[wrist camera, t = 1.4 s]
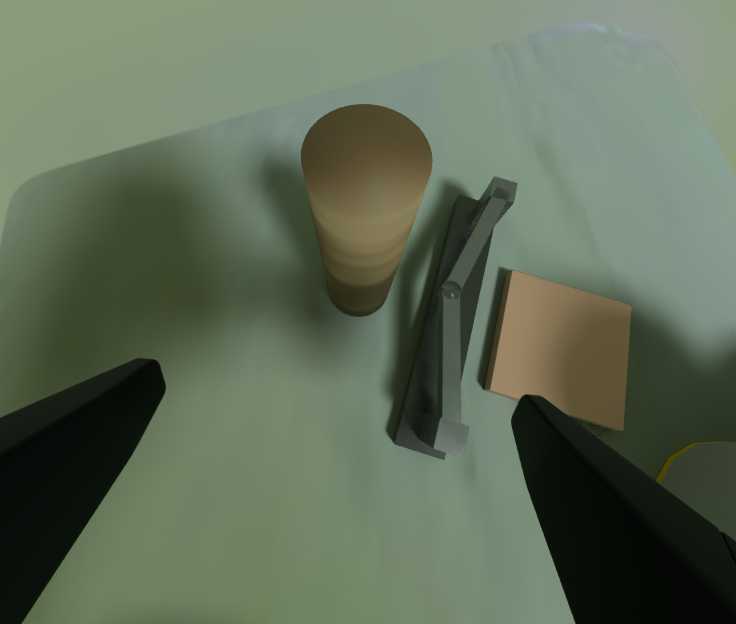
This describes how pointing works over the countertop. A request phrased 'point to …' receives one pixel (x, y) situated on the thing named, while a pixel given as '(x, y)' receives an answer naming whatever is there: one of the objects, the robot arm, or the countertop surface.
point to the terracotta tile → (562, 349)
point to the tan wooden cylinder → (364, 198)
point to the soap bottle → (705, 481)
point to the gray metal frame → (450, 327)
